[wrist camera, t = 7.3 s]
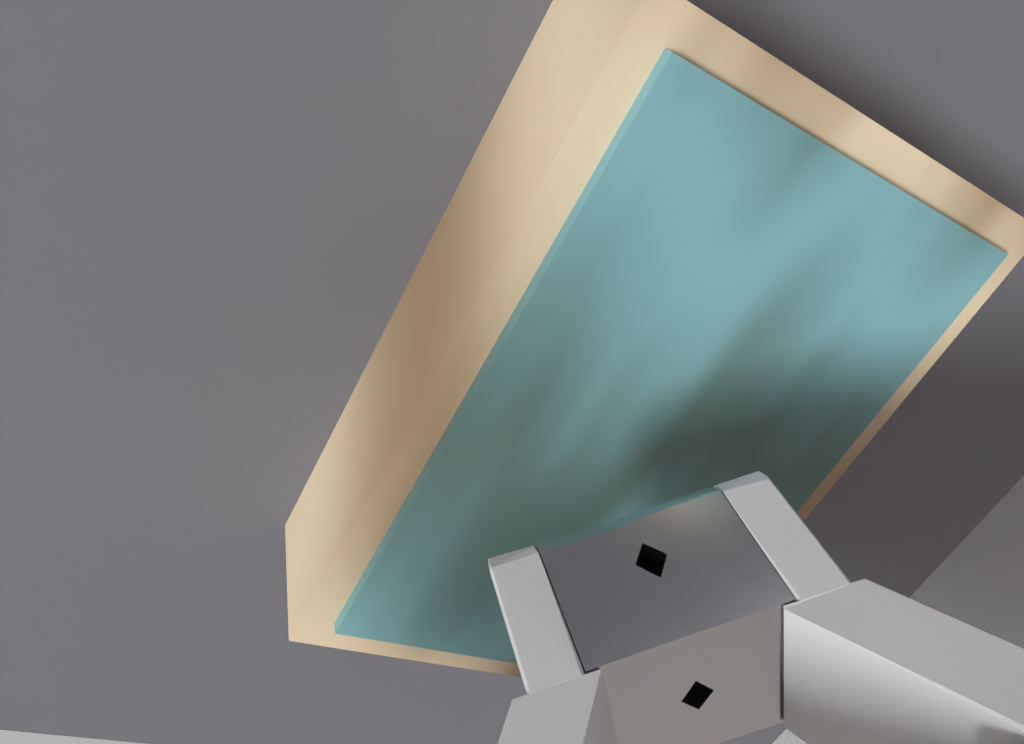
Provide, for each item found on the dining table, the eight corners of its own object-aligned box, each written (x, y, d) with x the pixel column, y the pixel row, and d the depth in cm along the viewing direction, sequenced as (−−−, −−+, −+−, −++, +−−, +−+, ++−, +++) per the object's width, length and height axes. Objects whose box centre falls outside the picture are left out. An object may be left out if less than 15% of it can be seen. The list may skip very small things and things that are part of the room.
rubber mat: (711, 777, 24) (721, 797, 23) (-439, 653, 13) (-466, 685, 13) (1390, 36, 15) (1427, 43, 15) (-258, -1965, 5) (-317, -2162, 4)
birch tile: (285, 525, 14) (610, 597, 18) (289, 651, 12) (660, 707, 15) (578, -51, 11) (928, 169, 14) (661, -19, 8) (1054, 236, 12)
